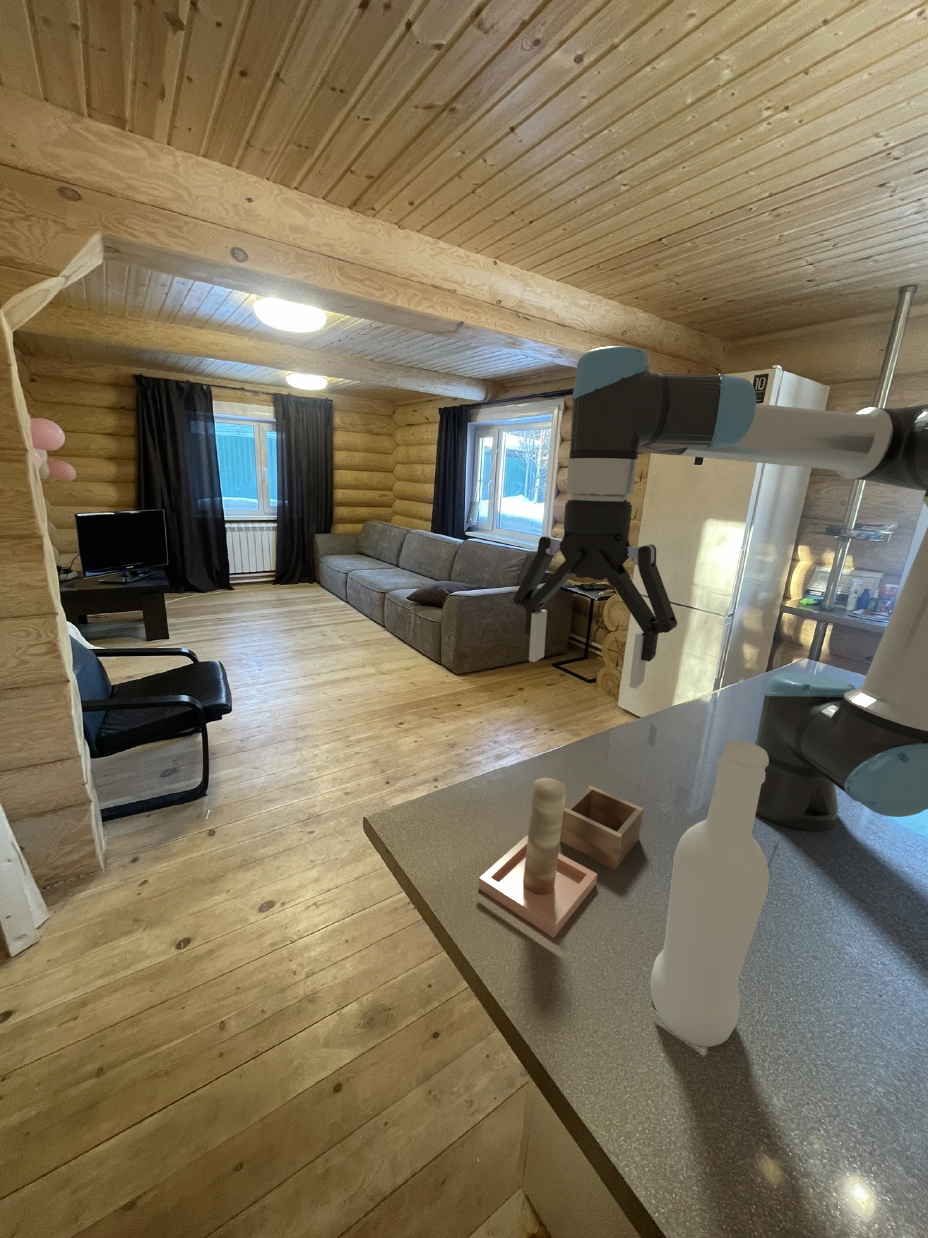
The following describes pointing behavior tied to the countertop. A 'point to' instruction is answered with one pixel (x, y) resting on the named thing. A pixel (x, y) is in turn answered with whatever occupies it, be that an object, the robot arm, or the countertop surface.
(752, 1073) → the countertop surface
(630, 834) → the small wooden box
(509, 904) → the tray
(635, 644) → the robot arm
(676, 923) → the bottle
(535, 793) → the dowel
